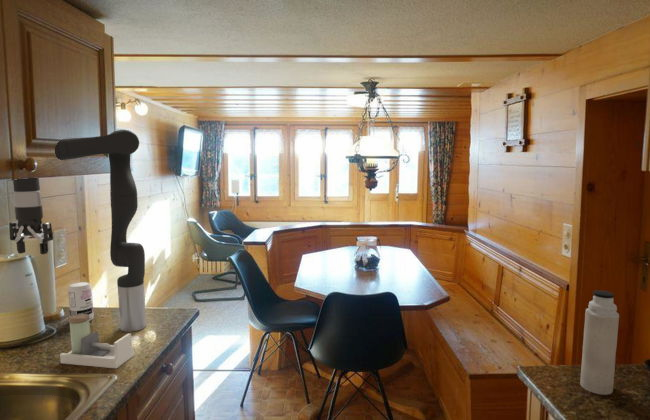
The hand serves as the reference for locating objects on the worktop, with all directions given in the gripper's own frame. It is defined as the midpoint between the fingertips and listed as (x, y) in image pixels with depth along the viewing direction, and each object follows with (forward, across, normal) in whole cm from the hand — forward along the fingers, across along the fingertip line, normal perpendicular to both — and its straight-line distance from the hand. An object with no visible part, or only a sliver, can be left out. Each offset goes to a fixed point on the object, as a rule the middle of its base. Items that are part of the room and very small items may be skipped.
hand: (32, 253), depth 147 cm
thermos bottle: (+34, -176, -8) cm, 179 cm away
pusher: (+33, -23, +2) cm, 40 cm away
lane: (+34, -23, +2) cm, 41 cm away
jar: (+33, -17, +2) cm, 37 cm away
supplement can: (+34, +7, -27) cm, 44 cm away
